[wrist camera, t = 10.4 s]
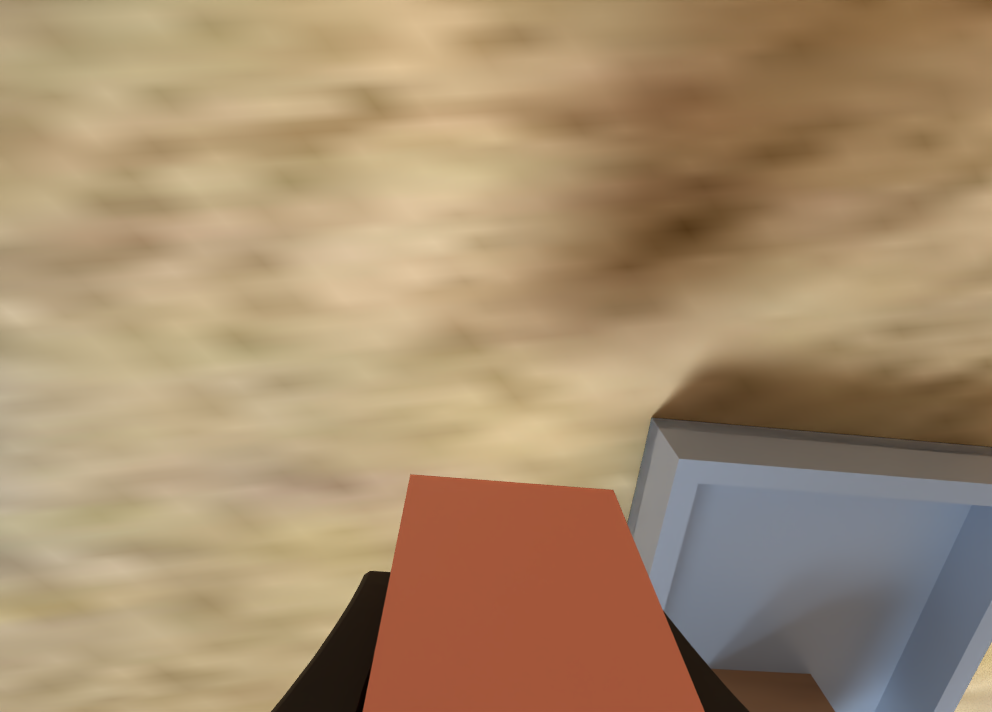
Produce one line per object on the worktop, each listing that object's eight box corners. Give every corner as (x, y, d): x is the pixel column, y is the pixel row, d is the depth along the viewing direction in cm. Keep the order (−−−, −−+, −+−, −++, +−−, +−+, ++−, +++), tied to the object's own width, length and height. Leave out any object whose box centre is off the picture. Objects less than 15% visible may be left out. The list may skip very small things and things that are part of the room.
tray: (839, 780, 26) (880, 849, 24) (571, 769, 26) (582, 840, 23) (995, 447, 20) (1072, 490, 18) (651, 417, 19) (679, 458, 17)
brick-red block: (580, 643, 14) (652, 978, 8) (399, 633, 14) (346, 974, 8) (613, 490, 12) (729, 770, 7) (410, 474, 12) (354, 755, 6)
